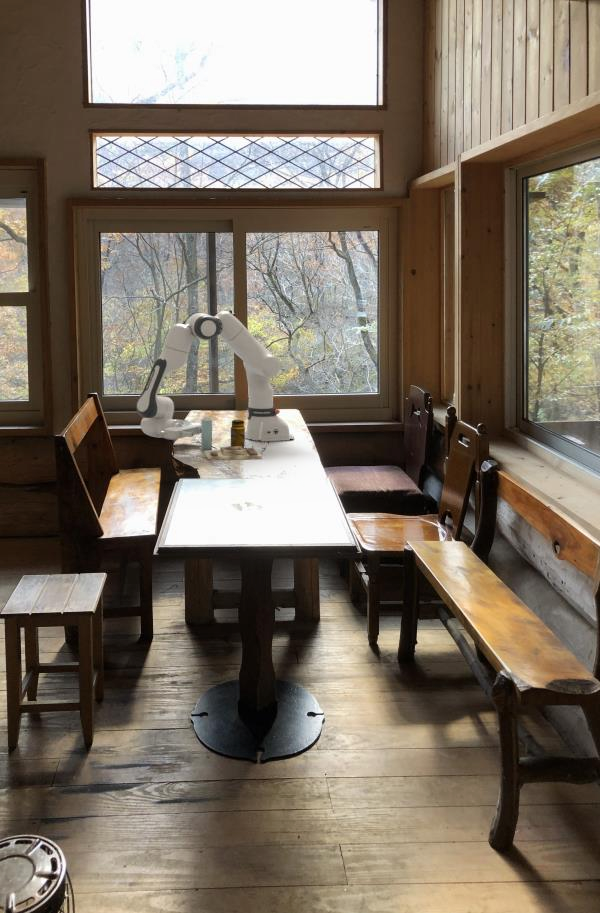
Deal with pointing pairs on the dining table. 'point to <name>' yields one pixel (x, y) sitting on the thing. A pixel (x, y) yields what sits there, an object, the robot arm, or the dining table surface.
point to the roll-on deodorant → (206, 434)
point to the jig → (232, 453)
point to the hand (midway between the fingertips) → (199, 433)
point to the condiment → (237, 434)
